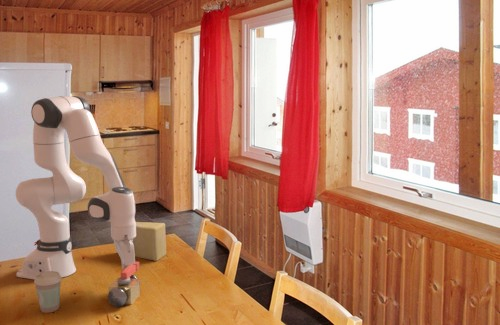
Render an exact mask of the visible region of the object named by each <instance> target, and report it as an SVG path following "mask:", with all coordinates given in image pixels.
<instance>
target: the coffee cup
mask: <svg viewBox="0 0 500 325" xmlns="http://www.w3.org/2000/svg"><path fill="white" fill-rule="evenodd" d="M62 279H63V277H62V278H61V276H60V274H59V272H56V271H47V272H42V273H40V274H38V275H36V277H35V280H34V279H33V281H34V282H33V284H34V285H35V289H36V294H37V295H36V296H37V299H38V303H39V309H40V311H41V313H47V314H49V313H54V312H56V311H57V310H59V309H60V300H61V299H60V298H61V282H62Z"/></svg>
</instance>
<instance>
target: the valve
mask: <svg viewBox="0 0 500 325" xmlns="http://www.w3.org/2000/svg"><path fill="white" fill-rule="evenodd" d="M118 278H119V277H117V278H116V279H115V280H114V281H113V282H112V283H111V284H110V285H109V286H108V295H107V301H108V303H109V304H110V305H111V306H112V307H115V308H120V307H123V306H124V305H127V306H128V305H129V306H130V305H133V304H134V303H135V301H136V300H137V299H138V298H139V297H140V295H141V290H140V286H141V282H140V279H139V278H138V276H136V275H134V274H132V275H131V276H130V283H129V284H125V285H120V284H118V281H117V279H118Z"/></svg>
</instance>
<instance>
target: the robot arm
mask: <svg viewBox="0 0 500 325" xmlns="http://www.w3.org/2000/svg"><path fill="white" fill-rule="evenodd" d="M31 118H32V121H34V122H33V129H32V130H33V132H32V144H33V158H34V164H36V165H37V166H38V167H40V168H41V169H44V170H47V171H50V172H51V173H52V176H50V177H40V178H38V177H37V178H31V179H26V180H24V181H20V182H19V183H18V185H17V187H16V189H15V198H16V200H17V202H18V204H19V205H21V206H22V207H23V208H25V209H28V211H29V212H31V213H32V214H33V216H34V217H35V218H36V220H37V221H36V222H37V226H38V231H39V239H38V240H36V241H35V242H34V244H33V245H34V246H36V248H35V249H34V250H33V251H32V252H30V253H29V254H28V255H27V256H25V257H24V260H23V261H22V268H20V269H19V270H18V271H16V278H17V277H18V278H24V279H29V280H33V281H34V280H35V277H36V275H38V274H40V273H42V272H47V271H56V272H59V274H60V276H61V278H62V279H63V278H65V277H68V276H71V275H72V274H74V273H75V272H76V271H77V268H76V265H75V262H74V257H73V254H72V249H73V248H72V247H73V246H72V237H71V234H70V220H69V218H68V217H67V215H66V214H63V213H61V212H58V211H55V210H53V209H52V206H55V205H56V206H57V205H63V204H71V203H75V202H78V201H81V200H83V198H84V197H85V195H86V192H87V185H86V182H85V180H84V179H83V178H82V177H81V176H80V175H78V174H76V173H75V172H74V171H73V170H72V168H70V165H69V164H68V161H67V158H66V150H65V137H64V136H65V135H64V130H65V131H66V135H67V138H68V143H69V146H70V150H71V152H72V155H73V156H74V158H75V159H76V160H78V161H79V162H81V163H83V164H86V165H90V166H93V167H95V168H97V169H98V170H99V171H100V172H101V174H102V175H103V178H104V180H105V182H106V184H107V188H108V189H109V190H108V191H107V192H105V193H103V194H99V195H96V196H94V197H92V198H90V199H89V201H88V203H87V213H88V216H89V217H90V219H92V221H94V222H96V223H104V222H110V237H111V239H112V240H113V243H114V244H113V245H114V249H115V250H116V253H117V252H118V253H117V254H118V256H119V257H120V262H121V268H122V269H123V270H124V269H126V268H127V267H128V266H129V265H132V264H134V263H135V262H136V257H135V254H134V245H133V242H132V241H133V238H135V237H136V222H137V221H136V219H135V216H136V201H135V195H134V193H133V190H132V189H130V187H129V188H128V187H127V186H126V185H125V182H124V180H123V178H122V175H121V173H120V170H119V168H118V165H117V163H116V161H115V158H114V156H113V154H112V153H111V152H110V151H109V150H108V149H107V147H106V146H105V144H104V143H103V140H102V137H101V133H100V130H99V127H98V125H97V122H96V120H95V118H94V116H93V113H92V112H91V108H90V104H89V103H88V101H87V99H86V98H83V97H81V96H76V95H73V96H69V95H68V96H66V95H64V96H63V95H61V96H55V97H49V98H45V97H43V98H41V99H38V100H36V101H35V102H33V104H32V106H31ZM123 270H122V271H123Z"/></svg>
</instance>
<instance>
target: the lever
mask: <svg viewBox="0 0 500 325" xmlns="http://www.w3.org/2000/svg"><path fill="white" fill-rule="evenodd" d="M139 270H140V261H135V263H134V264H132V265H128V267H127V268H126V269H124V270H122V271H121V272H120V277H117V278H118V279H117V278H116V279H117V281H118V284H120V285H125V284H129V283H130V276H131V275H134V274H135V273H136V272H138V271H139Z"/></svg>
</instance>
